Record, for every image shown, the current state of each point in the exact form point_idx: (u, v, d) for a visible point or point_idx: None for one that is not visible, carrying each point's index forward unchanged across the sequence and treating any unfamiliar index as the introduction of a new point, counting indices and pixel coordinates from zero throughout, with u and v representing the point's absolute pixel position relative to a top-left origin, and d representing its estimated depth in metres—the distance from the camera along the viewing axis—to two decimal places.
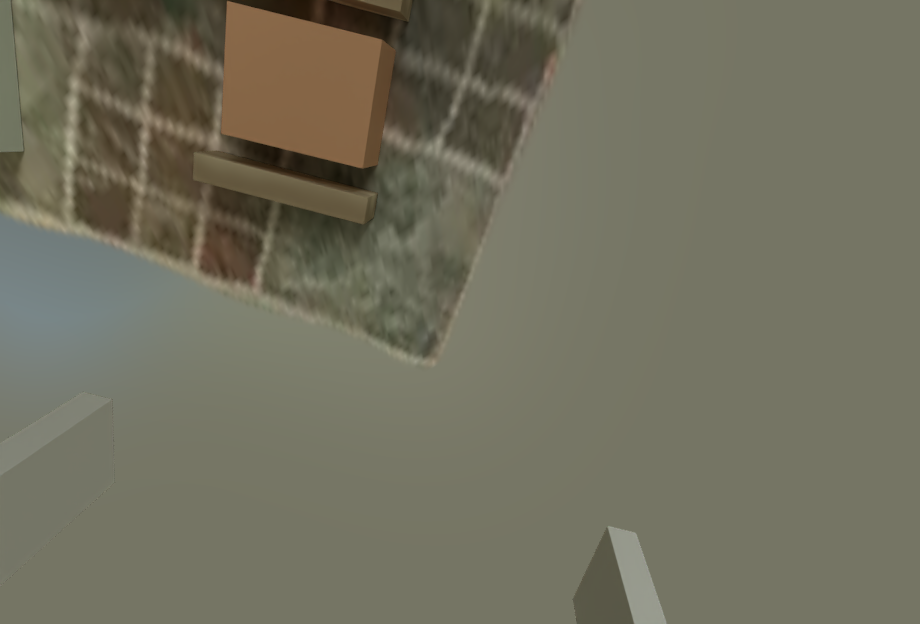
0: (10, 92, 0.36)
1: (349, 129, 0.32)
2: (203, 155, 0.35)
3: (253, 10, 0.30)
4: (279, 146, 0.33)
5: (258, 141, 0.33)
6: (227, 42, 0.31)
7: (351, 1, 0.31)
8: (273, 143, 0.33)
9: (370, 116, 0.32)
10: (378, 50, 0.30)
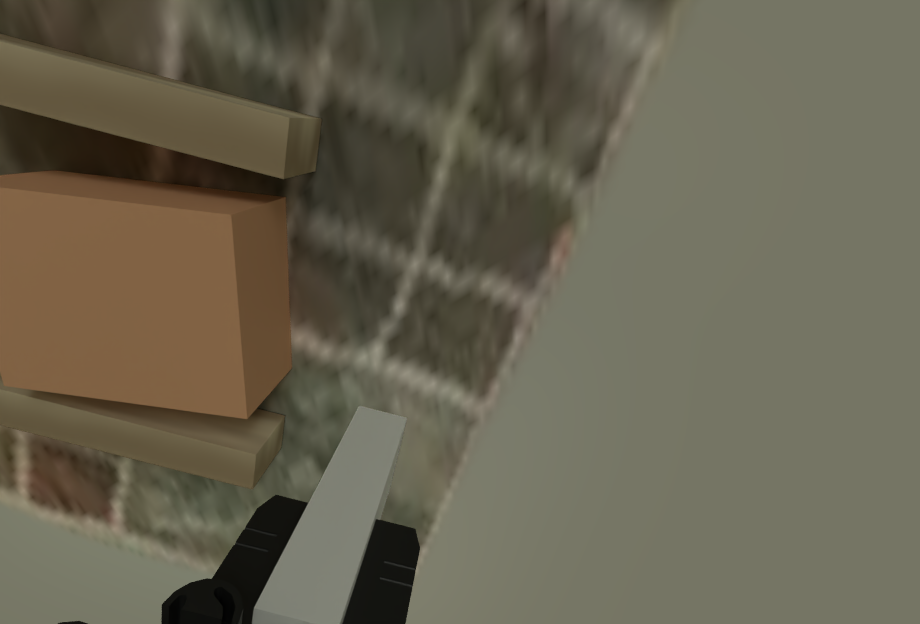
0: None
1: (210, 363, 0.18)
2: None
3: None
4: (102, 397, 0.19)
5: (66, 392, 0.19)
6: None
7: None
8: (91, 393, 0.19)
9: (241, 339, 0.17)
10: (229, 233, 0.16)
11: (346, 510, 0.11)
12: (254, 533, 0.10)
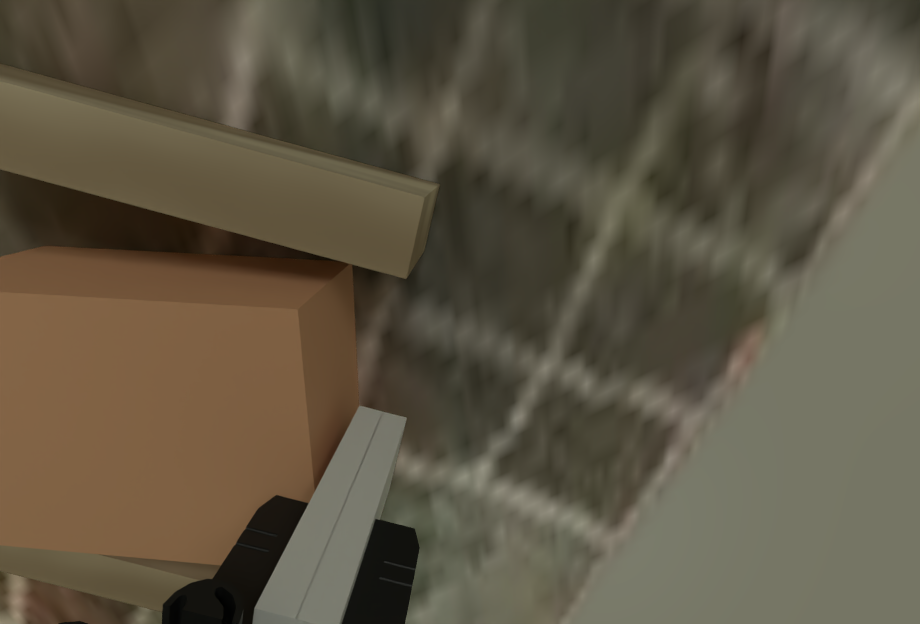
0: None
1: None
2: None
3: None
4: (122, 553, 0.14)
5: (74, 549, 0.14)
6: None
7: None
8: (107, 549, 0.14)
9: (313, 474, 0.12)
10: (294, 336, 0.11)
11: (346, 510, 0.11)
12: (254, 533, 0.10)
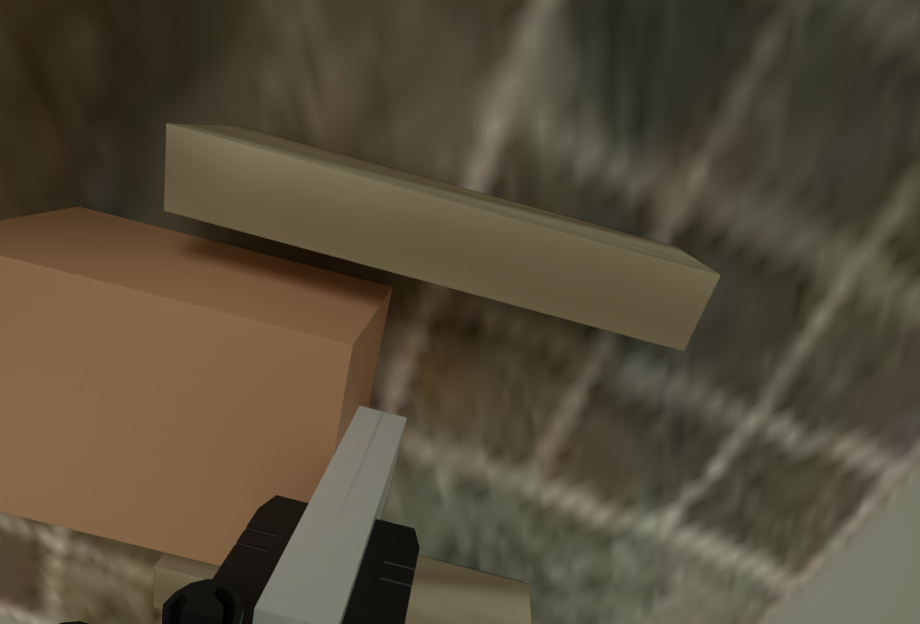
0: None
1: None
2: (175, 572, 0.16)
3: None
4: (110, 536, 0.14)
5: (59, 523, 0.14)
6: None
7: None
8: (95, 529, 0.14)
9: None
10: (343, 368, 0.11)
11: (346, 510, 0.11)
12: (255, 533, 0.10)
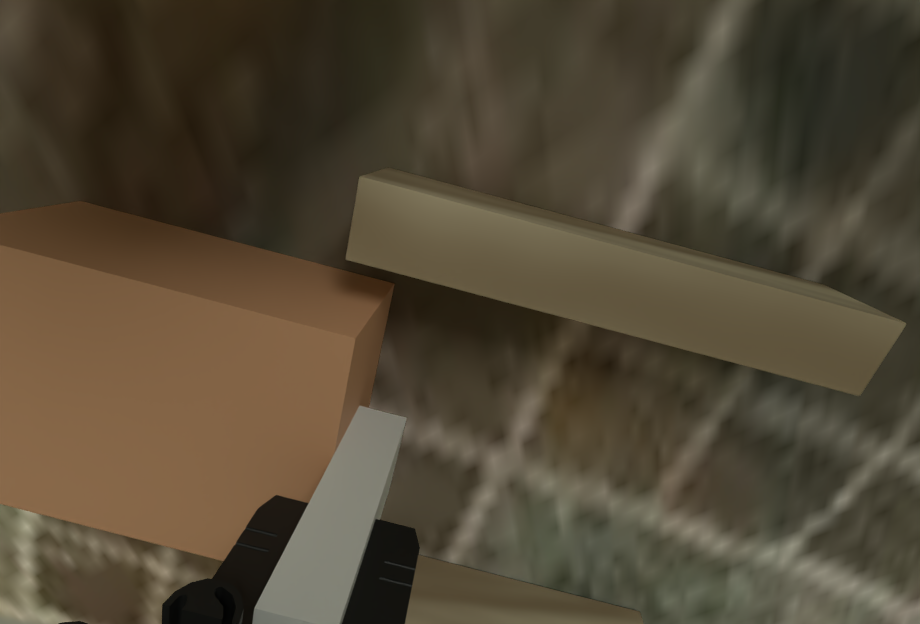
0: None
1: None
2: None
3: (0, 252, 0.11)
4: (110, 529, 0.14)
5: (60, 516, 0.14)
6: None
7: None
8: (95, 522, 0.14)
9: None
10: (345, 361, 0.11)
11: (346, 510, 0.11)
12: (254, 533, 0.10)
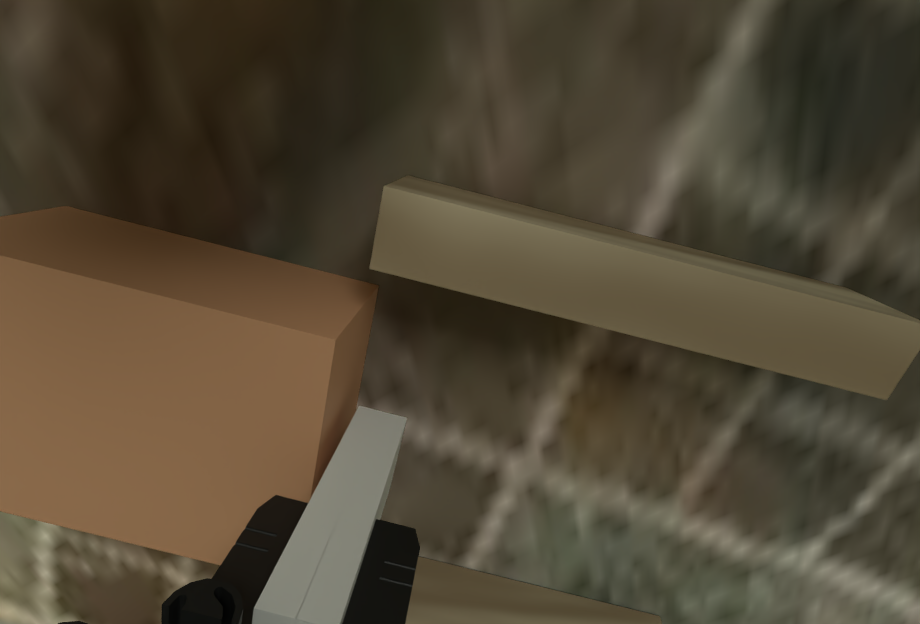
0: None
1: None
2: None
3: None
4: (97, 532, 0.14)
5: (47, 520, 0.14)
6: None
7: None
8: (82, 526, 0.14)
9: (311, 491, 0.13)
10: (326, 363, 0.11)
11: (346, 510, 0.11)
12: (254, 533, 0.10)
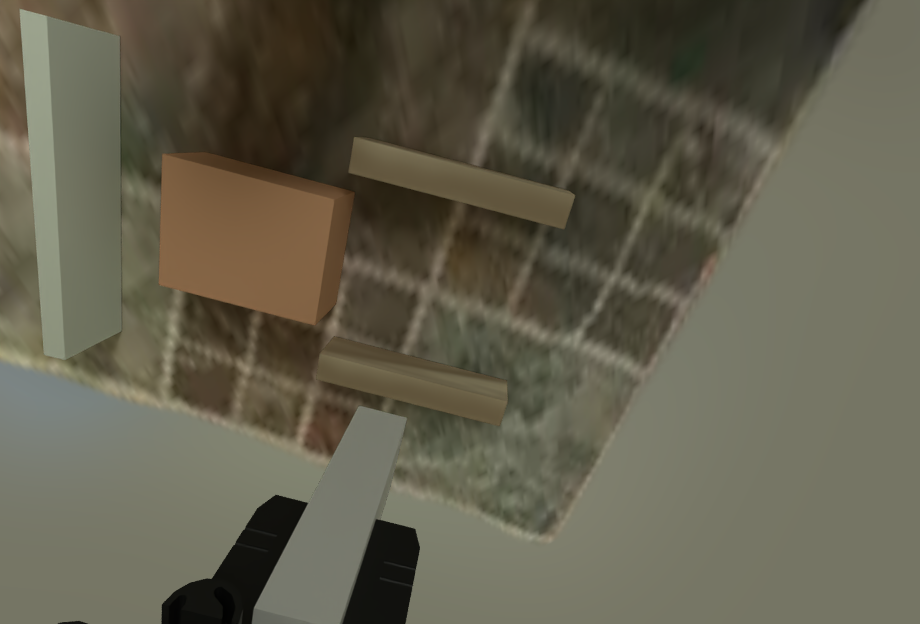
0: (114, 278, 0.34)
1: (300, 286, 0.29)
2: (329, 356, 0.32)
3: (191, 164, 0.27)
4: (223, 300, 0.30)
5: (200, 294, 0.30)
6: (163, 195, 0.28)
7: None
8: (216, 296, 0.30)
9: (322, 274, 0.29)
10: (330, 210, 0.27)
11: (346, 510, 0.11)
12: (254, 533, 0.10)
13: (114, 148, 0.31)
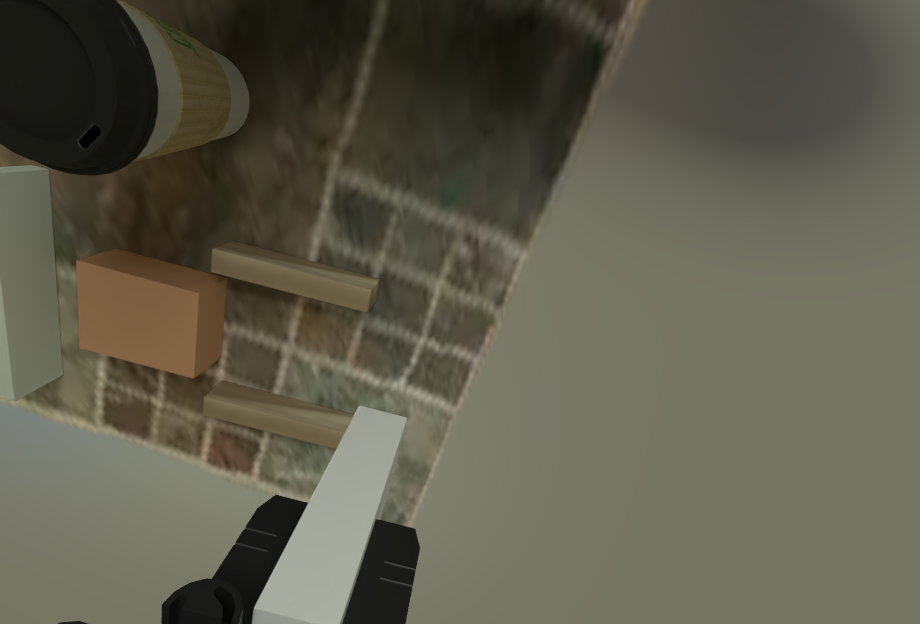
0: (54, 338, 0.45)
1: (180, 351, 0.40)
2: (211, 399, 0.43)
3: (97, 267, 0.38)
4: (126, 359, 0.41)
5: (109, 355, 0.41)
6: (79, 287, 0.39)
7: None
8: (121, 357, 0.41)
9: (196, 343, 0.40)
10: (197, 300, 0.38)
11: (346, 510, 0.11)
12: (254, 533, 0.10)
13: (48, 246, 0.41)
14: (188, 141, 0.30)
